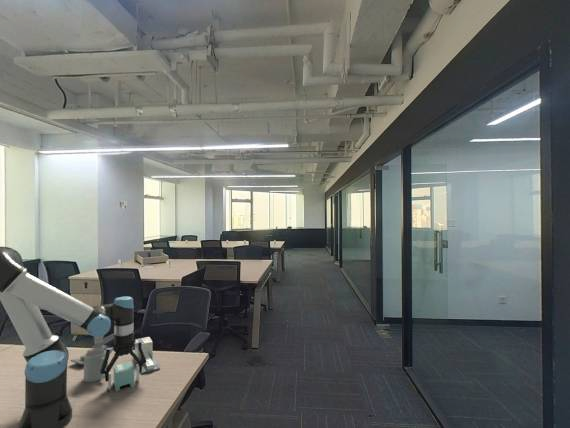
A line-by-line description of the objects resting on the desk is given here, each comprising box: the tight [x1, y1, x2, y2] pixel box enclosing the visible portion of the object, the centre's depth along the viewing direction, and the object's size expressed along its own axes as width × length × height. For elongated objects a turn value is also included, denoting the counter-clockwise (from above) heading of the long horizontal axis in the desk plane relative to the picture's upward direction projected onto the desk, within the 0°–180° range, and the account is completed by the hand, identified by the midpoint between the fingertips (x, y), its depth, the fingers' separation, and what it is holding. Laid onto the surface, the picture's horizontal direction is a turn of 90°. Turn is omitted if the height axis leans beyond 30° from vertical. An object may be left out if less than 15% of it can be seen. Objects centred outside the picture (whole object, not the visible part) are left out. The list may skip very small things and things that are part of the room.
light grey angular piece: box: [134, 336, 161, 375], centre depth 155 cm, size 22×8×9 cm, turn 34°
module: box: [113, 361, 135, 392], centre depth 135 cm, size 8×7×8 cm
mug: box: [83, 349, 109, 383], centre depth 140 cm, size 12×8×11 cm
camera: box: [70, 335, 108, 366], centre depth 157 cm, size 9×12×15 cm
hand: (124, 383), depth 135 cm, fingers open, 10 cm apart
